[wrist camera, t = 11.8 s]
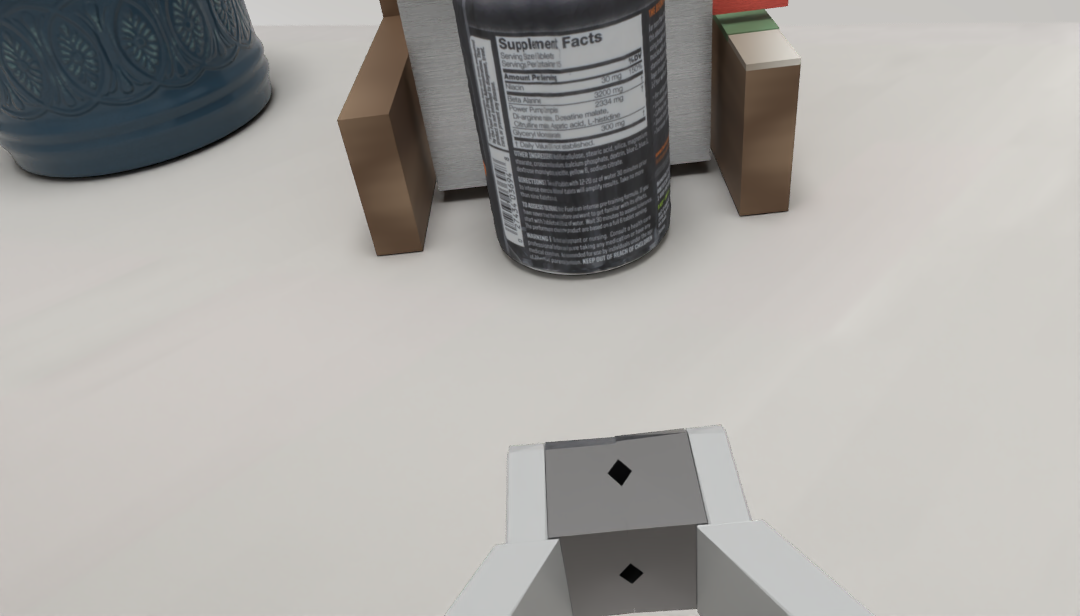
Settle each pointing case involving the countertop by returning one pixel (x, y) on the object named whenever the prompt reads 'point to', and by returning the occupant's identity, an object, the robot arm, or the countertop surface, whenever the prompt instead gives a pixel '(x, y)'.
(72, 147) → the canister
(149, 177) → the countertop surface
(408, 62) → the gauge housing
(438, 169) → the brushed metal plate
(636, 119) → the pill bottle
